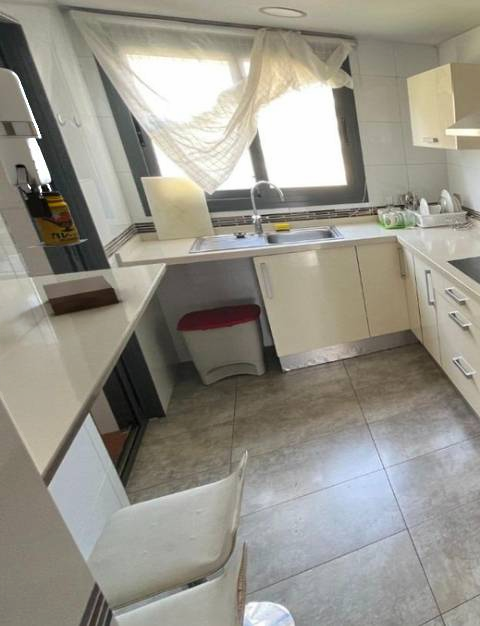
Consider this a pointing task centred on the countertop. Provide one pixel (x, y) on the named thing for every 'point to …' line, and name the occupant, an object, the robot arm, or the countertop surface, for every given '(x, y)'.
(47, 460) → the countertop surface
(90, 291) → the brown wooden base
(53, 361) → the countertop surface
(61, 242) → the condiment
